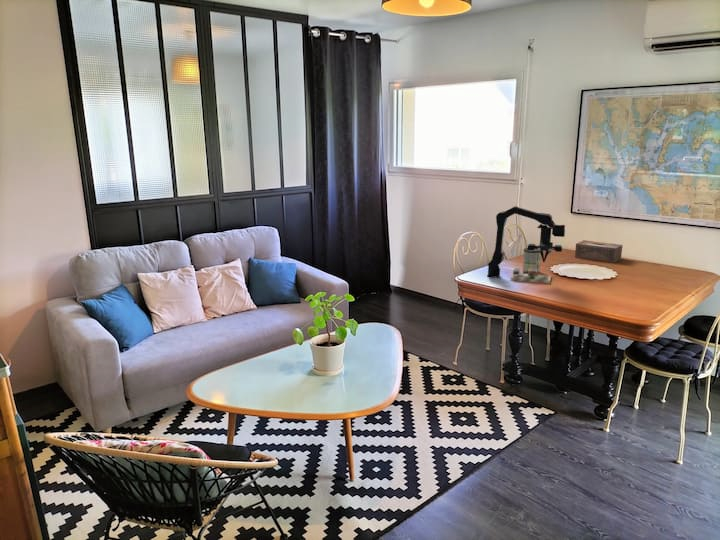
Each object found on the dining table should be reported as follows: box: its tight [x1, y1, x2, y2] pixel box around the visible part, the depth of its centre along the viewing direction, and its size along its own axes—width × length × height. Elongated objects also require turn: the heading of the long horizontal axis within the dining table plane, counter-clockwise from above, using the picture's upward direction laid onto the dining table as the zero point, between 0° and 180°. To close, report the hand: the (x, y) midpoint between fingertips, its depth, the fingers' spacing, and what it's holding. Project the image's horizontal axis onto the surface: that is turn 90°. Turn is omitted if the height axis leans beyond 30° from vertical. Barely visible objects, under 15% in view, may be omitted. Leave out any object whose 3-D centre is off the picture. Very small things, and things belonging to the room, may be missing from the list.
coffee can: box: [522, 247, 541, 274], centre depth 324 cm, size 10×10×14 cm
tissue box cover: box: [574, 240, 623, 264], centre depth 355 cm, size 26×14×10 cm, turn 47°
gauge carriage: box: [522, 268, 539, 279], centre depth 307 cm, size 8×10×4 cm
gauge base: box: [510, 267, 552, 284], centre depth 308 cm, size 22×12×5 cm, turn 69°
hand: (543, 262), depth 303 cm, fingers closed
